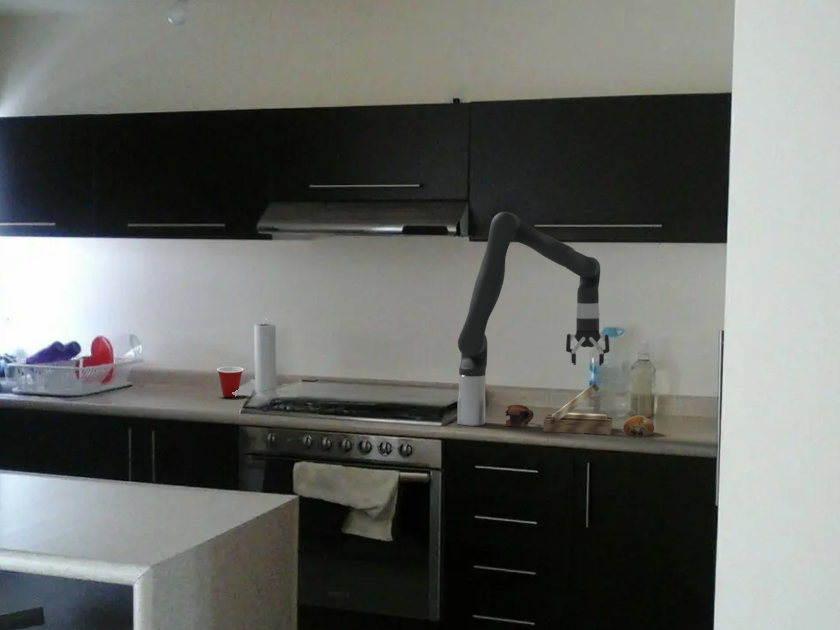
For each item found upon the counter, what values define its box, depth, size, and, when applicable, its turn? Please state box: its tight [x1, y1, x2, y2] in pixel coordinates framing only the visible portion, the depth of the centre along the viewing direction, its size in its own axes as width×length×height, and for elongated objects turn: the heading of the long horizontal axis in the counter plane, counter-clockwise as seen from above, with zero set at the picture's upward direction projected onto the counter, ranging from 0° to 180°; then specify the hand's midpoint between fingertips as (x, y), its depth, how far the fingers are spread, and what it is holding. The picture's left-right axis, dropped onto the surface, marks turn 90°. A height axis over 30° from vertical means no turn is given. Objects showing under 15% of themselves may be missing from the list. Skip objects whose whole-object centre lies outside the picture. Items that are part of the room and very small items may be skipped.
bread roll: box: [623, 414, 655, 437], centre depth 305 cm, size 10×10×8 cm
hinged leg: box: [550, 382, 600, 420], centre depth 308 cm, size 20×3×2 cm
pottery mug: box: [504, 404, 535, 428], centre depth 319 cm, size 12×10×8 cm
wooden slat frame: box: [543, 412, 613, 436], centre depth 311 cm, size 22×12×5 cm, turn 75°
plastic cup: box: [216, 366, 244, 398], centre depth 378 cm, size 11×11×12 cm
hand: (587, 365), depth 306 cm, fingers open, 8 cm apart
